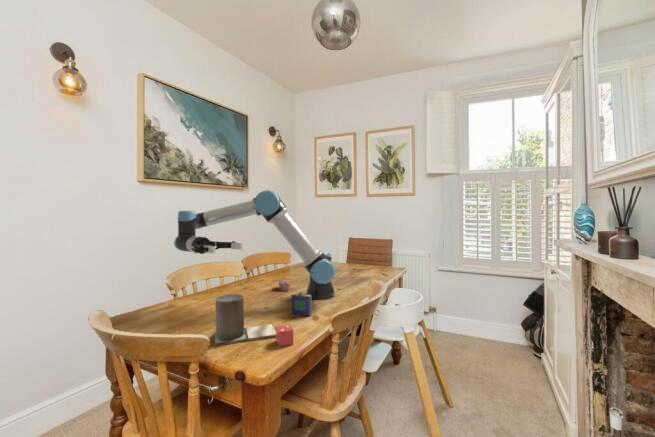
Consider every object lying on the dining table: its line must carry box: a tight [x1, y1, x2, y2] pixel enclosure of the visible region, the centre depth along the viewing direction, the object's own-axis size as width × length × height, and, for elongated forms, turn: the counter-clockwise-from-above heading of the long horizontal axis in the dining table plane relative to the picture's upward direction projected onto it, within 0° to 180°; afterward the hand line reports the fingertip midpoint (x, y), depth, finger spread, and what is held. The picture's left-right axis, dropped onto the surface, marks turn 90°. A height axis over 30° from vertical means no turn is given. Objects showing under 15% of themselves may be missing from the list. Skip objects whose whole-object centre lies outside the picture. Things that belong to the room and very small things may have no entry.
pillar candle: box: [215, 293, 245, 340], centre depth 110 cm, size 10×10×15 cm
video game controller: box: [278, 278, 290, 292], centre depth 177 cm, size 10×5×7 cm, turn 6°
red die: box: [275, 324, 294, 348], centre depth 106 cm, size 5×5×5 cm
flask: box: [291, 290, 313, 318], centre depth 133 cm, size 9×3×11 cm, turn 74°
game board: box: [213, 323, 276, 347], centre depth 112 cm, size 22×11×1 cm, turn 111°
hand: (228, 248), depth 127 cm, fingers open, 13 cm apart
